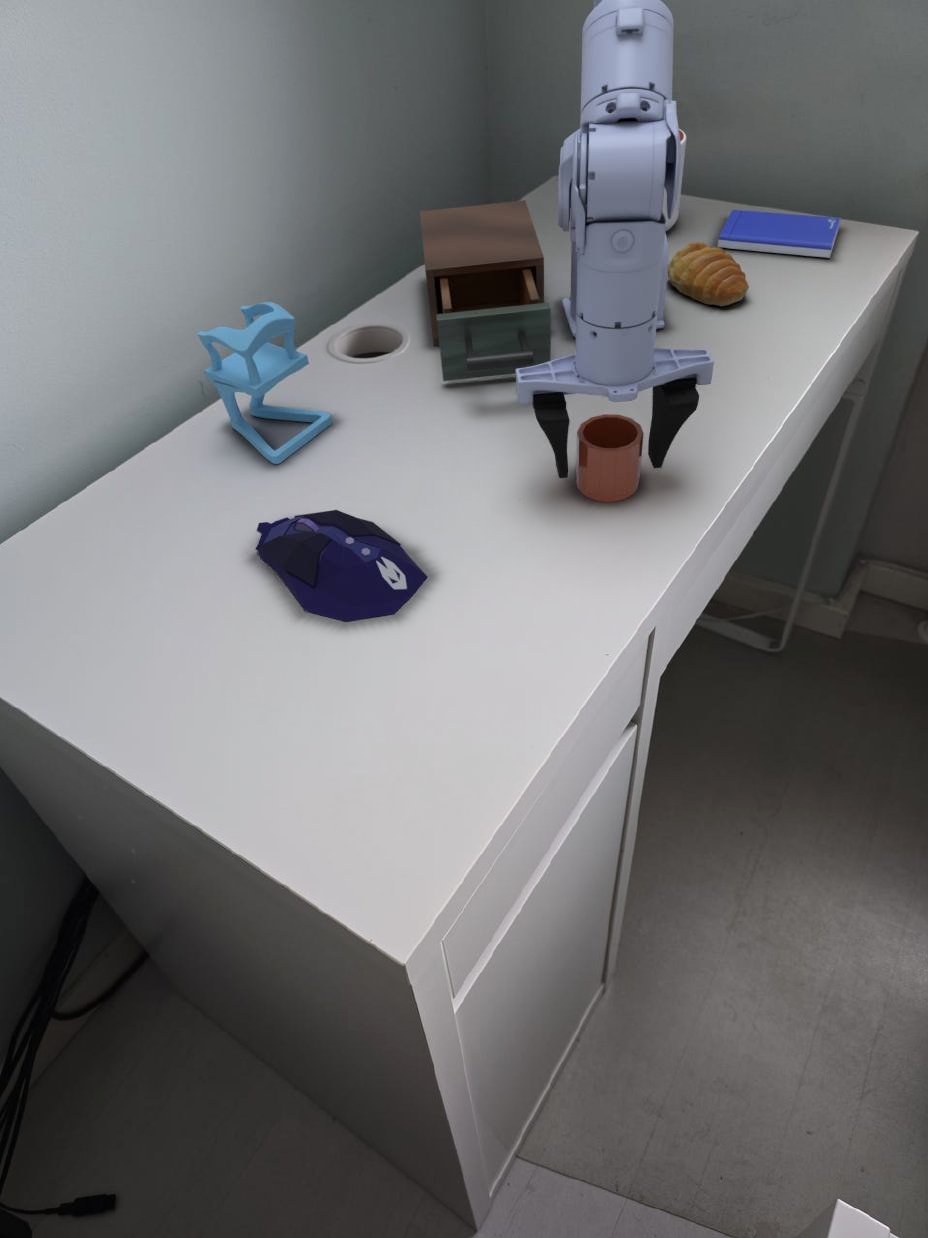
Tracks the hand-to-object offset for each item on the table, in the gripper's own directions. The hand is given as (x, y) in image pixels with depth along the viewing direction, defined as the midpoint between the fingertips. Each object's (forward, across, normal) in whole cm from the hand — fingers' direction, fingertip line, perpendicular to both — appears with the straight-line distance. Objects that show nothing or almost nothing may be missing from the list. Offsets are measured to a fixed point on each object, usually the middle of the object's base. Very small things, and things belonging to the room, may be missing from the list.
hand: (608, 466), depth 71 cm
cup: (+2, +13, +50) cm, 52 cm away
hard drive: (+2, +28, +42) cm, 51 cm away
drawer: (+1, -8, +21) cm, 23 cm away
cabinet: (+2, -8, +33) cm, 34 cm away
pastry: (+2, +17, +32) cm, 36 cm away
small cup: (+2, 0, 0) cm, 2 cm away
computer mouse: (+2, -23, -7) cm, 24 cm away
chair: (+2, -29, +13) cm, 32 cm away
